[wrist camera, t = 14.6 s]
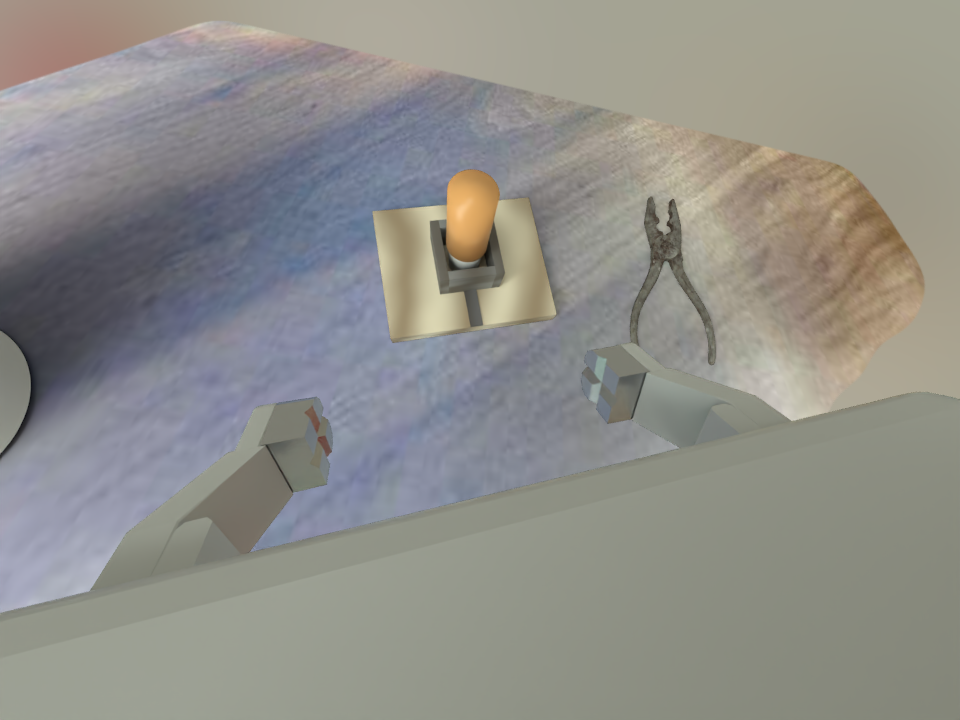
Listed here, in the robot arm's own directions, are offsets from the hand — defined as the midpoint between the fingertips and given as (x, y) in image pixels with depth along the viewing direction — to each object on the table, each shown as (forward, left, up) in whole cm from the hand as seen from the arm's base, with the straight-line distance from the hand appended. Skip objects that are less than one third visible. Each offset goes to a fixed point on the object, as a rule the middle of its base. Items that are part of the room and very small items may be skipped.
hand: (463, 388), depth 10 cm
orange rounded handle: (+4, +14, -20) cm, 25 cm away
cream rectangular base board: (+4, +14, -22) cm, 26 cm away
